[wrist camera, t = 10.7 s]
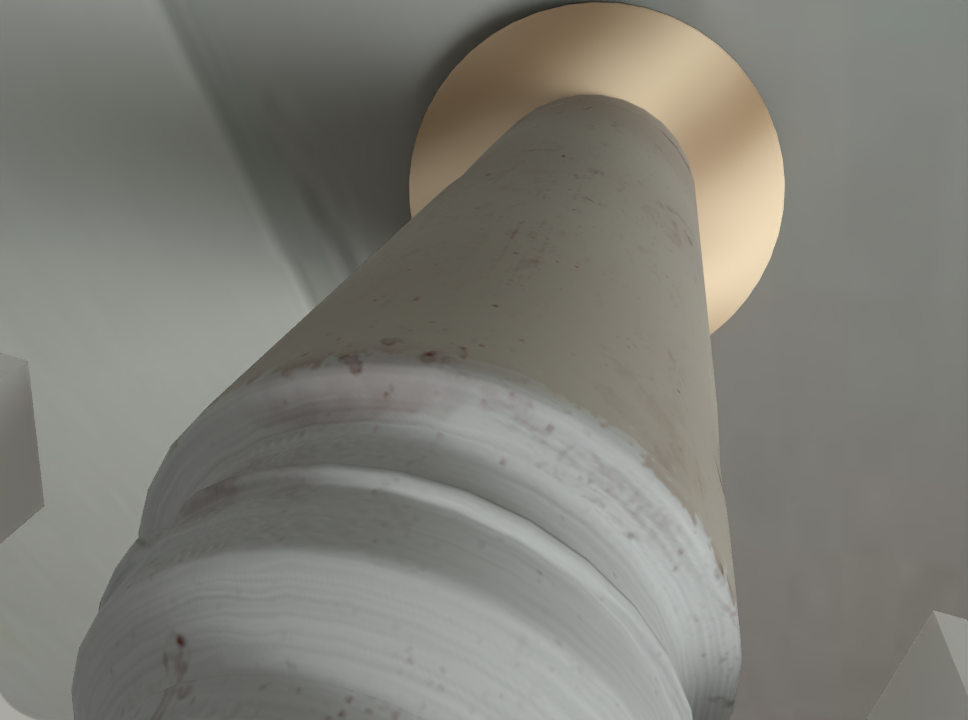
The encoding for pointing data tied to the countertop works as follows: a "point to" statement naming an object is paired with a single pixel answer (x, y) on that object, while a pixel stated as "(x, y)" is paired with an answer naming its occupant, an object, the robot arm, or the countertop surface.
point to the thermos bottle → (458, 472)
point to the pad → (645, 83)
